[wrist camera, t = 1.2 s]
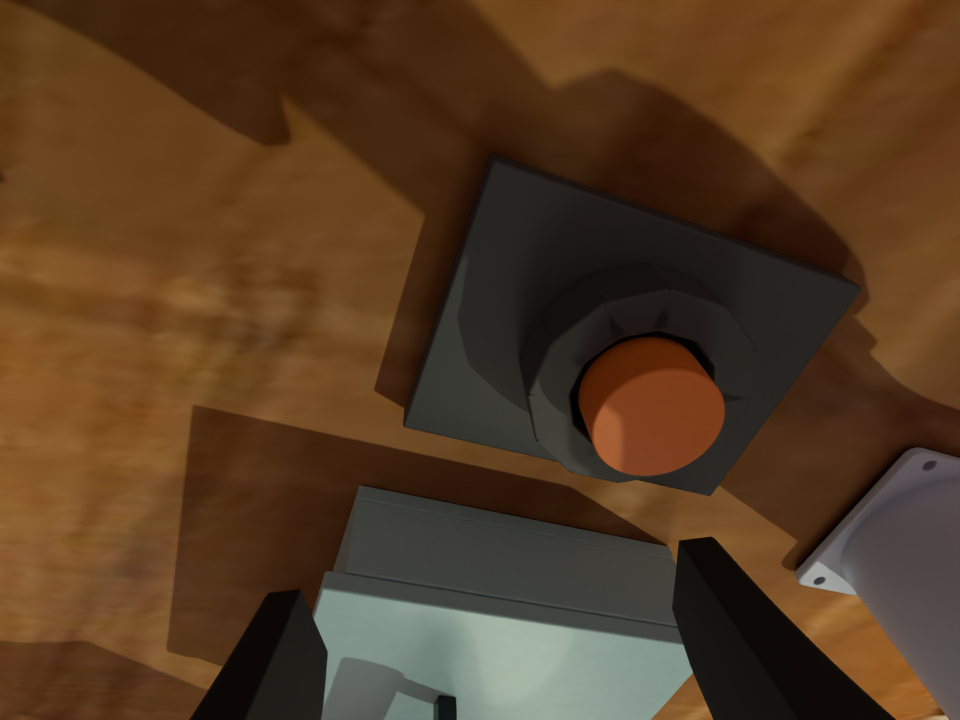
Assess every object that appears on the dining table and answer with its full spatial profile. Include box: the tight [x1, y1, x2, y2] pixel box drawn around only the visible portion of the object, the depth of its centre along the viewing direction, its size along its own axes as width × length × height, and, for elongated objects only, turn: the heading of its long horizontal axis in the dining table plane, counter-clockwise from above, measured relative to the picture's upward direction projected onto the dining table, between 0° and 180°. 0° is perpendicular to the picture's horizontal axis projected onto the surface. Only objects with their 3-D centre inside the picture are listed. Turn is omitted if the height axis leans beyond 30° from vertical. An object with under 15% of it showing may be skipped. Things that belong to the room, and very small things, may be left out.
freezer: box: [332, 485, 678, 628], centre depth 24 cm, size 13×14×4 cm
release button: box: [578, 337, 725, 476], centre depth 16 cm, size 4×4×2 cm
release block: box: [403, 154, 862, 496], centre depth 17 cm, size 12×9×3 cm
